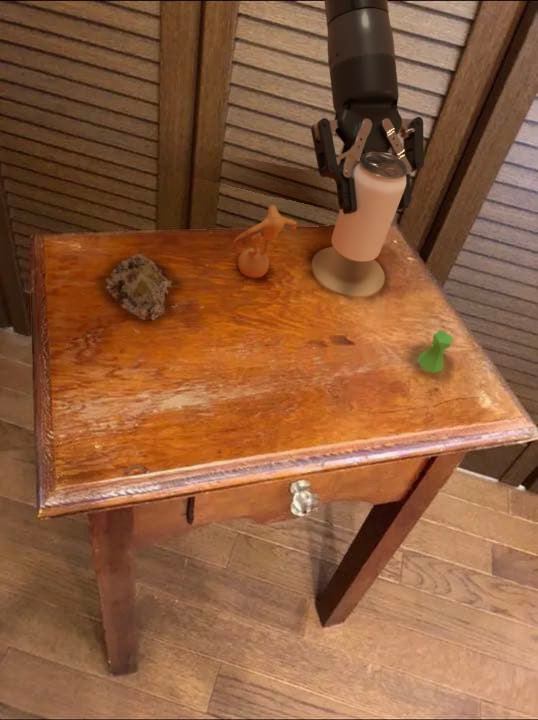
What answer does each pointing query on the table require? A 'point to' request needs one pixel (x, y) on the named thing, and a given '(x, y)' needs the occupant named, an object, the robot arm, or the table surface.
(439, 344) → the game piece
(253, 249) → the figurine
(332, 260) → the ash disc
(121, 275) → the mineral rock
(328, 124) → the robot arm
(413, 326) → the table surface
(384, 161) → the can
